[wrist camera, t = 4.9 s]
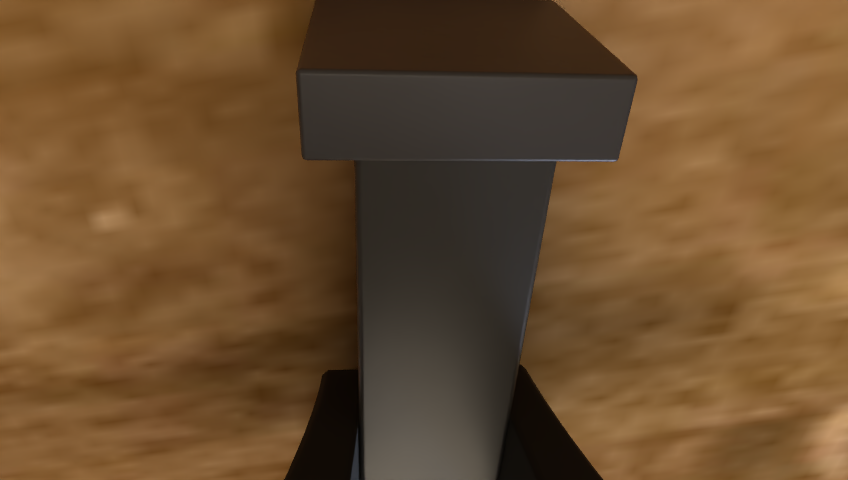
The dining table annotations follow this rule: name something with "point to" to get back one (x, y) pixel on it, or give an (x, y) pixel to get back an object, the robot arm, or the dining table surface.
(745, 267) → the dining table surface
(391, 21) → the racket
